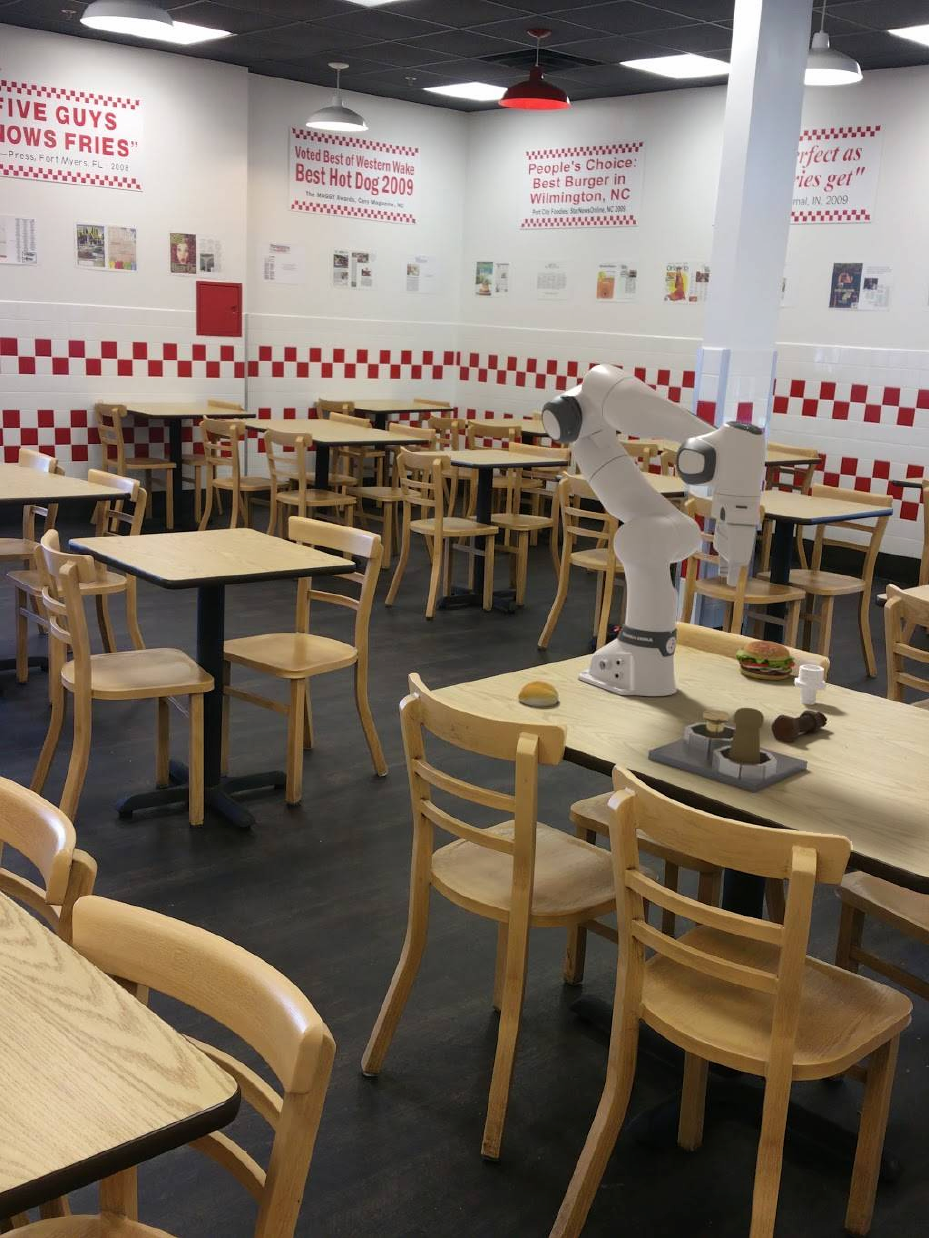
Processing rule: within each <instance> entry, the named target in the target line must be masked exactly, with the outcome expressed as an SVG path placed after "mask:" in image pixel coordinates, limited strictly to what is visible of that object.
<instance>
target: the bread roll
mask: <svg viewBox="0 0 929 1238" xmlns="http://www.w3.org/2000/svg"><path fill="white" fill-rule="evenodd" d="M517 698H518V701H519V702H521V703H522V704H524V705H528V706H531V707H549V706H554V705H556V704H557V702H558V701H559V692H558V691H557V689H556V688H555V687H554V686H553V685H552V684H550V683H548V682H545V681H540V680H534V681H531V682H529V683H527V684H525V685H524V686H523V687H522V689H521V690H520V691H519V694H518V696H517Z"/></svg>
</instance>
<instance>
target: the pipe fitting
mask: <svg viewBox="0 0 929 1238" xmlns="http://www.w3.org/2000/svg"><path fill="white" fill-rule="evenodd" d="M824 672H825V668H824V667H822V666H820V665H814V664H802V665H799V671H798V677H794V681H793V682H794V685H795V687H798V688H800V689H801V691H800V699H799V700H800V701H799V702H800V703H801V704H804V705H815V704H816V700H817V693H818V692H817V691H818V690H826V688H827V687H826V686H827V685H826V684H827V683H826V681H825V680H824V674H825V673H824Z"/></svg>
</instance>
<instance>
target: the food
mask: <svg viewBox="0 0 929 1238" xmlns="http://www.w3.org/2000/svg"><path fill="white" fill-rule="evenodd" d="M735 658H736V660H737V661H738V664H739V665H740V666H739V667H738V669H739V673H741V674H742V675H744V676H746V677H751V678H753V679H756V680H757V679H759V680H767V681H779V680H785V679H788V678H789V676H790V674H791V673H792V672H793V669H792V668H793V667H795V665H796V663H795V657H793V656H791V654H790V650H789V649H788V648H787V647H786V646H784V645H782V644H780V643H778V642H774V641H770V640H769V641H768V640H757V641H751V642H749V643H747V644H745V645H744V647H742V648H741V649H739V650H737V652H736V653H735Z"/></svg>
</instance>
